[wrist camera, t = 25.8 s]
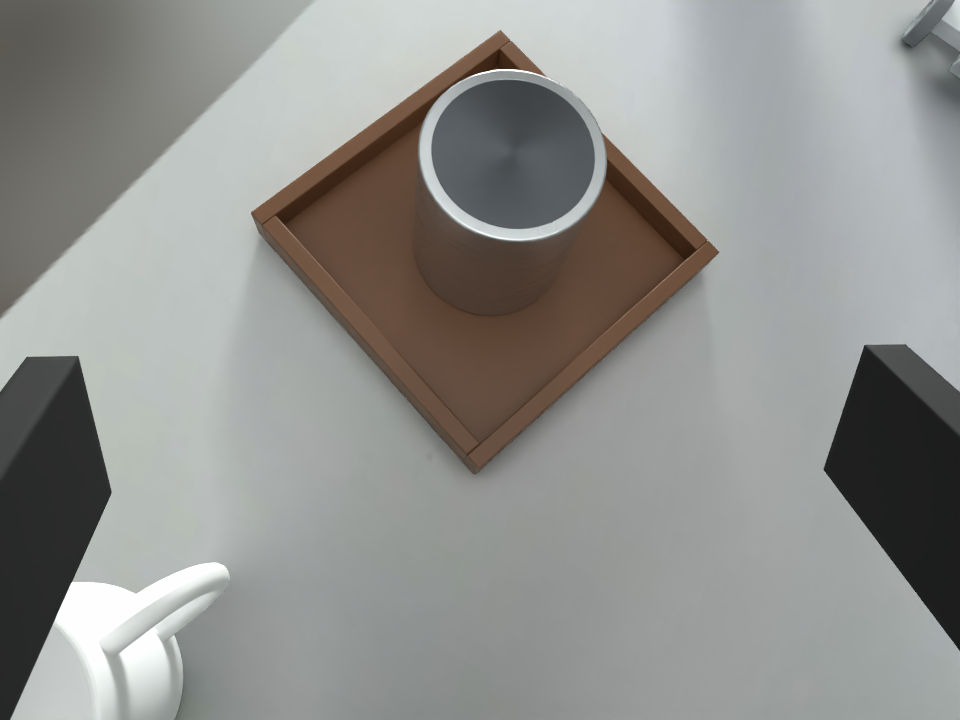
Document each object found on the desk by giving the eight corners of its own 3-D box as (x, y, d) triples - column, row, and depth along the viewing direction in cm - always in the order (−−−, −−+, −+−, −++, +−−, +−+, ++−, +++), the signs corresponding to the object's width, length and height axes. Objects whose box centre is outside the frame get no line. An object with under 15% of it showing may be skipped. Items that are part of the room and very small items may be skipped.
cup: (-61, 665, 33) (-258, 707, 23) (197, 490, 35) (120, 461, 26) (43, 843, 31) (-118, 968, 22) (302, 648, 34) (263, 681, 24)
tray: (258, 232, 39) (250, 212, 36) (495, 57, 42) (500, 29, 40) (474, 475, 37) (479, 469, 34) (702, 269, 40) (720, 251, 38)
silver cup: (382, 236, 38) (377, 138, 30) (493, 150, 40) (519, 34, 31) (483, 346, 37) (508, 279, 29) (591, 254, 39) (646, 164, 30)
